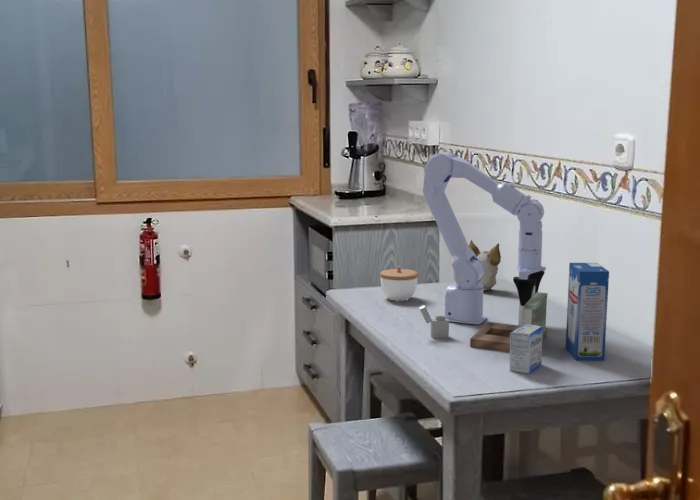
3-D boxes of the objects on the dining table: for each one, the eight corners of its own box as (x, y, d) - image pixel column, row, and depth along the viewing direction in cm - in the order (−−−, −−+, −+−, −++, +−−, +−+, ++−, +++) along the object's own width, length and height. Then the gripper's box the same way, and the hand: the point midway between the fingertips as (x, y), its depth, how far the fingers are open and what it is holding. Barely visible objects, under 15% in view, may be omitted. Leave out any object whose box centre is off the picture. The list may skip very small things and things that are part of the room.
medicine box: (528, 375, 173) (530, 334, 171) (508, 371, 175) (509, 331, 173) (541, 364, 179) (543, 326, 178) (522, 361, 182) (523, 323, 180)
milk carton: (565, 347, 192) (569, 262, 188) (592, 347, 191) (597, 262, 188) (575, 360, 182) (580, 271, 178) (604, 361, 182) (609, 271, 178)
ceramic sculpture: (508, 290, 250) (510, 240, 247) (494, 295, 243) (496, 244, 241) (477, 285, 257) (478, 237, 254) (463, 290, 250) (464, 241, 247)
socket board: (470, 347, 192) (471, 300, 190) (487, 329, 207) (489, 286, 205) (532, 354, 186) (534, 306, 184) (546, 336, 201) (548, 292, 199)
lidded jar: (419, 295, 243) (420, 264, 241) (414, 304, 233) (414, 271, 231) (383, 293, 246) (384, 262, 244) (376, 302, 235) (376, 269, 234)
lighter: (447, 335, 201) (447, 303, 200) (448, 337, 200) (449, 305, 198) (418, 337, 200) (418, 304, 199) (419, 339, 199) (420, 306, 197)
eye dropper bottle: (542, 329, 207) (544, 282, 205) (519, 329, 207) (521, 282, 205) (537, 324, 212) (539, 278, 209) (515, 324, 211) (517, 278, 209)
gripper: (540, 255, 199) (538, 310, 201) (551, 245, 212) (549, 297, 214) (511, 253, 202) (509, 307, 204) (524, 243, 215) (522, 295, 217)
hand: (528, 302), depth 209 cm, fingers open, 7 cm apart
